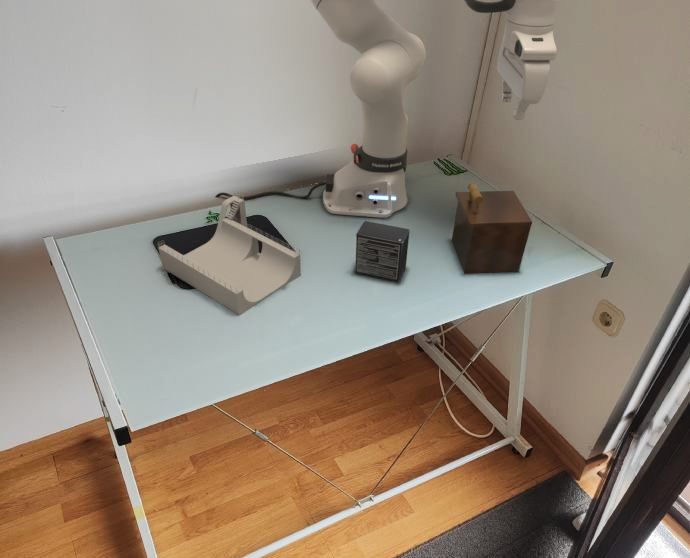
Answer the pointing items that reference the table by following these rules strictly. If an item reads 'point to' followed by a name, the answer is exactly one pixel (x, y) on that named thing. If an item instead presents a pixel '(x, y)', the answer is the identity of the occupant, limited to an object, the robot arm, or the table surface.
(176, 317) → the table surface
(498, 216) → the box lid
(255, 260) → the skate ramp
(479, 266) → the storage box
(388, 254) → the small box
